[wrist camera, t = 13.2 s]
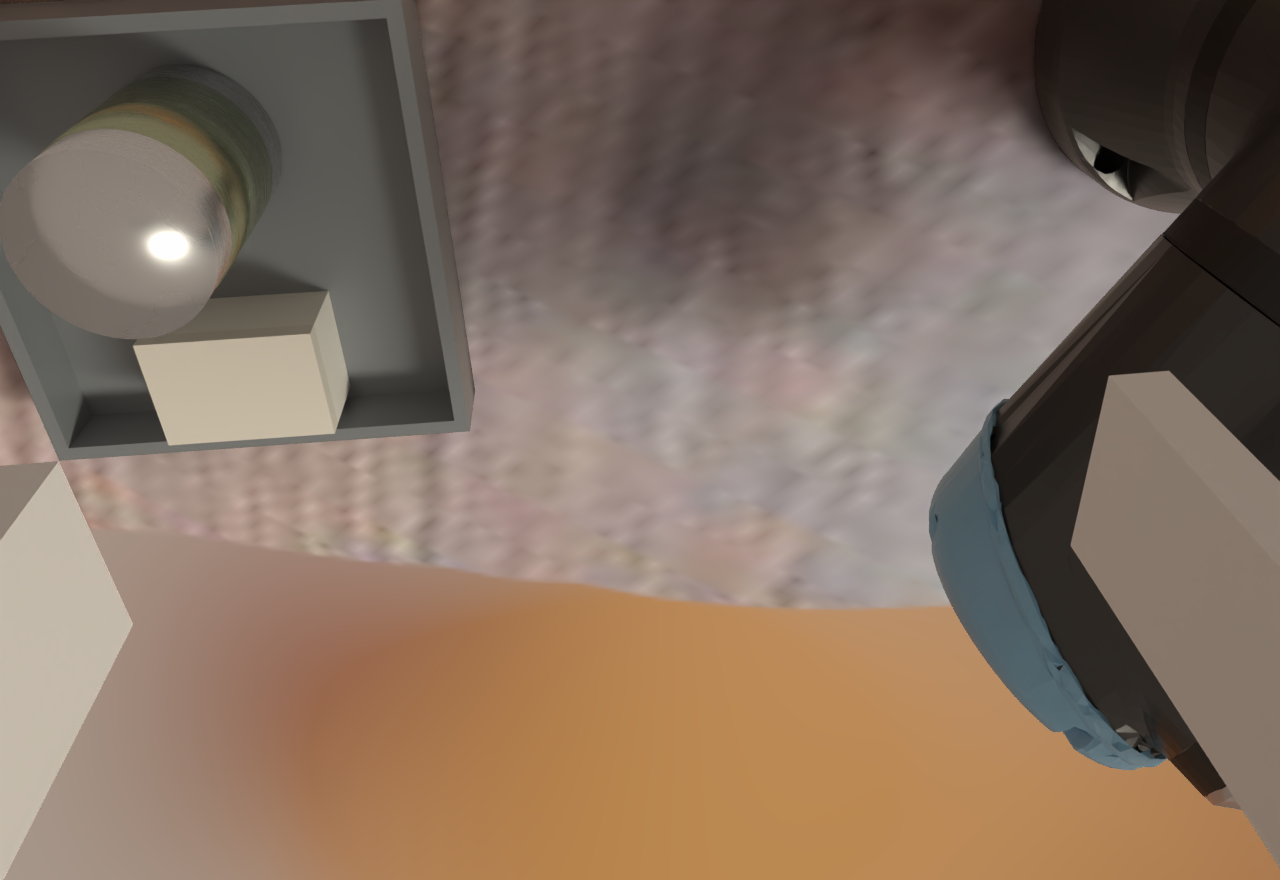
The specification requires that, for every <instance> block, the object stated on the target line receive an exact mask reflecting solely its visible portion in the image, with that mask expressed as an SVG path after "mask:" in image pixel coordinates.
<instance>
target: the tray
mask: <svg viewBox="0 0 1280 880" xmlns="http://www.w3.org/2000/svg"><path fill="white" fill-rule="evenodd" d="M171 64H190V65H196V66H201V67H205V68H208V69H212V70H214V71H217V72H219V73H222V74H224V75H225V76H227V77H229V78H231V79H233V80H234V81H236V82H237V83H239V84H240V85H241V86H243V87H244V88H245V89H246V90H248V91H249V92H250V93H251V94H252V95H253V96H254V97H255V98H256V99H257V100H258V101H259V102H260V104H261V105H262V106H263V108H264V109H265V110H266V112H267V113H268V115H269V116H270V118H271V120H272V122H273V124H274V126H275V128H276V131H277V133H278V136H279V139H280V143H281V149H282V163H283V164H282V172H281V177H280V180H279V184H278V186H277V188H276V190H275V192H274V194H273V196H272V197H271V199H270V200H269V203H268V205H267V207H266V209H265V211H264V213H263V214H262V216H261V218H260V219H259V221H258V223H257V224H256V226H255V228H254V229H253V231H252V232H251V234H250V236H249V237H248V239H247V241H246V242H245V244H244V246H243V247H242V249H241V250H240V252H239V254H238V255H237V257H236V259H235V260H234V262H233V264H232V265H231V267H230V268H229V270H228V272H227V273H226V275H225V277H224V278H223V280H222V281H221V283H220V284H219V285H218V286H217V288H216V289H215V290H214V292H213V293H212V295H211V296H210V298H209V299H211V298H226V297H241V296H256V295H271V294H286V293H301V292H316V291H329V296H330V300H331V304H332V309H333V313H334V317H335V321H336V326H337V330H338V334H339V339H340V343H341V347H342V352H343V356H344V360H345V365H346V369H347V373H348V378H349V382H350V389H349V392H348V395H347V398H346V401H345V404H344V407H343V410H342V413H341V416H340V419H339V422H338V425H337V428H336V431H335V434H322V435H308V436H294V437H280V438H266V439H252V440H238V441H224V442H210V443H196V444H182V445H168V442H167V439H166V437H165V434H164V431H163V428H162V426H161V423H160V420H159V417H158V415H157V412H156V409H155V406H154V403H153V401H152V398H151V395H150V392H149V390H148V387H147V384H146V381H145V378H144V376H143V373H142V370H141V367H140V365H139V362H138V359H137V356H136V354H135V351H134V348H133V345H134V343H135V342H136V341H137V339H120V338H112V337H108V336H103V335H99V334H96V333H93V332H89V331H86V330H84V329H82V328H79V327H77V326H75V325H73V324H71V323H69V322H67V321H65V320H64V319H62V318H60V317H59V316H57V315H56V314H54V313H53V312H51V311H50V310H48V309H47V308H46V307H45V306H43V305H42V304H41V303H40V302H39V301H37V300H36V299H35V298H34V297H33V296H32V295H31V293H30V292H29V291H28V290H27V289H26V288H25V287H24V286H23V284H22V283H21V282H20V280H19V279H18V278H17V276H16V275H15V273H14V271H13V270H12V268H11V266H10V264H9V262H8V260H7V258H6V256H5V253H4V250H3V247H2V244H1V240H0V326H1V328H2V331H3V333H4V335H5V337H6V340H7V342H8V344H9V347H10V349H11V351H12V353H13V356H14V358H15V360H16V363H17V365H18V367H19V369H20V372H21V374H22V376H23V379H24V381H25V383H26V385H27V388H28V390H29V392H30V395H31V397H32V399H33V401H34V404H35V406H36V408H37V411H38V413H39V415H40V417H41V420H42V422H43V424H44V427H45V429H46V431H47V433H48V436H49V438H50V440H51V443H52V445H53V447H54V449H55V452H56V454H57V456H58V459H59V461H61V460H75V459H89V458H103V457H117V456H131V455H145V454H158V453H172V452H186V451H200V450H214V449H228V448H242V447H256V446H270V445H284V444H298V443H312V442H326V441H340V440H354V439H368V438H382V437H396V436H410V435H424V434H437V433H451V432H465V431H470V426H471V418H472V410H473V402H474V394H475V388H474V381H473V375H472V368H471V362H470V355H469V349H468V342H467V336H466V329H465V322H464V316H463V309H462V303H461V296H460V290H459V283H458V277H457V270H456V263H455V257H454V250H453V244H452V237H451V231H450V224H449V218H448V211H447V204H446V198H445V191H444V185H443V178H442V172H441V165H440V159H439V152H438V145H437V139H436V132H435V126H434V119H433V113H432V106H431V100H430V93H429V86H428V80H427V73H426V67H425V60H424V54H423V47H422V41H421V34H420V27H419V21H418V14H417V8H416V1H415V0H62V1H44V2H27V3H9V4H0V203H1V200H2V197H3V194H4V192H5V190H6V188H7V186H8V184H9V183H10V182H11V180H12V179H13V178H14V176H15V175H16V174H17V173H18V172H19V171H20V170H21V169H23V168H24V167H25V166H26V165H27V164H28V163H30V162H31V161H32V160H33V159H35V158H36V157H37V156H39V154H40V153H41V152H42V151H43V150H44V149H45V148H46V147H47V146H48V145H50V144H51V143H52V142H53V141H54V140H56V139H57V138H58V137H59V136H61V135H62V134H63V133H64V132H66V131H67V130H68V129H70V128H71V127H72V126H73V125H75V124H76V123H77V122H78V121H80V120H81V119H82V118H83V117H85V116H86V115H87V114H88V113H90V112H91V111H92V110H94V109H95V108H96V107H97V106H99V105H100V104H101V103H102V102H104V101H105V100H106V99H107V98H109V97H110V96H111V95H112V94H114V93H115V92H116V91H118V90H119V89H121V88H122V87H124V86H126V85H128V84H129V83H130V82H131V81H133V80H134V79H135V78H136V77H138V76H139V75H141V74H143V73H144V72H146V71H149V70H151V69H153V68H156V67H160V66H164V65H171Z"/></svg>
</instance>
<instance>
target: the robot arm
mask: <svg viewBox="0 0 1280 880" xmlns="http://www.w3.org/2000/svg"><path fill="white" fill-rule="evenodd" d="M1035 80H1036V88H1037V94H1038V99H1039V103H1040V106H1041V110H1042V113H1043V116H1044V119H1045V121H1046V123H1047V126H1048V128H1049V130H1050V132H1051V134H1052V136H1053V137H1054V139H1055V141H1056V142H1057V144H1058V145H1059V147H1060V148H1061V150H1062V151H1063V152H1064V153H1065V155H1066V156H1067V157H1068V158H1069V159H1070V160H1071V161H1072V162H1073V163H1074V164H1075V165H1076V166H1077V167H1078V168H1079V169H1081V170H1082V171H1083V172H1085V173H1086V174H1087V175H1088V176H1090V177H1091V178H1092V179H1094V180H1095V181H1096V182H1097V183H1099V184H1100V185H1101V186H1103V187H1104V188H1105V189H1107V190H1108V191H1110V192H1112V193H1113V194H1115V195H1117V196H1119V197H1121V198H1123V199H1124V200H1127V201H1129V202H1132V203H1134V204H1137V205H1139V206H1142V207H1146V208H1149V209H1153V210H1157V211H1162V212H1169V213H1177V214H1180V215H1179V217H1178V218H1177V219H1176V220H1175V221H1174V222H1173V223H1172V224H1171V225H1170V226H1169V228H1168V229H1167V230H1166V231H1165V232H1163V235H1160V236H1159V237H1158V238H1157V239H1156V240H1155V241H1154V242H1153V243H1152V245H1151V246H1150V247H1149V248H1148V249H1147V250H1146V251H1145V252H1144V253H1143V254H1142V255H1141V257H1140V258H1139V259H1138V260H1137V261H1136V262H1135V263H1134V264H1133V265H1132V266H1131V267H1130V269H1129V270H1128V271H1127V272H1126V273H1125V274H1124V275H1123V276H1122V277H1121V278H1120V279H1119V281H1118V282H1117V283H1116V284H1115V285H1114V286H1113V287H1112V288H1111V289H1110V290H1109V291H1108V292H1107V294H1106V295H1105V296H1104V297H1103V298H1102V299H1101V300H1100V301H1099V302H1098V303H1097V304H1096V306H1095V307H1094V308H1093V309H1092V310H1091V311H1090V312H1089V313H1088V314H1087V315H1086V316H1085V318H1084V319H1083V320H1082V321H1081V322H1080V323H1079V324H1078V325H1077V326H1076V327H1075V328H1074V329H1073V331H1072V332H1071V333H1070V334H1069V335H1068V336H1067V337H1066V338H1065V339H1064V340H1063V341H1062V343H1061V344H1060V345H1059V346H1058V347H1057V348H1056V349H1055V350H1054V351H1053V352H1052V353H1051V355H1050V356H1049V357H1048V358H1047V359H1046V360H1045V361H1044V362H1043V363H1042V364H1041V365H1040V367H1039V368H1038V369H1037V370H1036V371H1035V372H1034V373H1033V374H1032V375H1031V376H1030V377H1029V378H1028V380H1027V381H1026V382H1025V383H1024V384H1023V385H1022V386H1021V387H1020V388H1019V389H1018V390H1017V391H1016V393H1015V394H1014V395H1013V396H1012V397H1011V398H1010V399H1003V400H1002V401H1001V402H1000V403H998V404H997V405H996V406H995V407H994V408H993V409H992V411H991V412H990V413H989V414H988V416H987V418H986V420H985V422H984V425H983V428H982V430H981V431H980V432H979V434H978V435H977V436H976V437H975V439H974V440H973V441H972V442H971V444H970V445H969V446H968V447H967V449H966V450H965V451H964V452H963V453H962V455H961V456H960V457H959V458H958V460H957V461H956V462H955V463H954V465H953V466H952V467H951V468H950V469H949V471H948V472H947V473H946V474H945V475H944V476H943V478H942V479H941V481H940V483H939V484H938V486H937V488H936V490H935V492H934V495H933V498H932V501H931V505H930V510H929V533H930V537H931V541H932V554H933V559H934V563H935V566H936V570H937V573H938V575H939V578H940V580H941V583H942V585H943V588H944V590H945V593H946V595H947V597H948V599H949V601H950V603H951V605H952V607H953V609H954V611H955V613H956V614H957V616H958V618H959V620H960V622H961V623H962V625H963V627H964V628H965V630H966V631H967V633H968V635H969V636H970V638H971V639H972V641H973V643H974V644H975V645H976V647H977V648H978V650H979V651H980V653H981V654H982V656H983V657H984V658H985V660H986V661H987V663H988V664H989V665H990V667H991V668H992V669H993V670H994V672H995V673H996V674H997V675H998V677H999V678H1000V679H1001V681H1002V682H1003V683H1004V684H1005V686H1006V687H1007V688H1008V689H1009V690H1010V691H1011V693H1012V694H1013V695H1014V696H1015V697H1016V698H1017V699H1018V700H1019V701H1020V703H1021V704H1022V705H1023V706H1024V707H1025V708H1026V709H1027V710H1029V712H1031V714H1032V715H1034V716H1035V717H1036V718H1037V719H1038V720H1039V721H1040V722H1041V723H1042V724H1043V725H1045V726H1046V727H1047V728H1048V729H1049V730H1051V731H1053V732H1061V731H1063V733H1064V734H1065V735H1066V737H1067V739H1068V740H1069V742H1070V744H1071V745H1072V746H1073V748H1074V749H1075V750H1076V751H1078V752H1079V753H1081V754H1083V755H1084V756H1086V757H1087V758H1089V759H1091V760H1094V761H1095V762H1097V763H1099V764H1102V765H1105V766H1107V767H1110V768H1116V769H1122V770H1135V769H1138V768H1141V767H1155V766H1157V765H1159V764H1161V763H1162V762H1164V761H1165V760H1166V759H1168V760H1170V761H1171V762H1172V763H1173V764H1174V766H1175V767H1177V769H1178V770H1179V771H1180V772H1181V773H1182V774H1183V775H1184V776H1185V777H1186V778H1187V779H1188V780H1189V781H1190V782H1191V783H1192V785H1193V786H1194V787H1195V788H1196V789H1197V790H1198V791H1199V792H1200V793H1201V794H1202V795H1203V796H1204V797H1205V798H1206V799H1208V801H1210V802H1211V803H1212V804H1213V805H1216V806H1222V807H1228V808H1235V809H1240V810H1242V811H1243V812H1244V814H1245V815H1246V817H1247V818H1248V820H1249V821H1250V823H1251V824H1252V826H1253V827H1254V829H1255V831H1256V832H1257V834H1258V835H1259V837H1260V838H1261V840H1262V841H1263V843H1264V845H1265V846H1266V848H1267V849H1268V851H1269V852H1270V854H1271V855H1272V857H1273V858H1274V860H1275V861H1276V863H1277V865H1278V866H1279V868H1280V0H1044V1H1043V5H1042V8H1041V12H1040V17H1039V22H1038V27H1037V34H1036V42H1035ZM132 626H133V624H132V621H131V619H130V617H129V615H128V613H127V610H126V608H125V606H124V604H123V602H122V599H121V597H120V595H119V593H118V591H117V588H116V586H115V584H114V582H113V580H112V577H111V575H110V573H109V571H108V569H107V567H106V564H105V562H104V560H103V558H102V556H101V553H100V551H99V549H98V547H97V545H96V543H95V540H94V538H93V536H92V534H91V531H90V529H89V527H88V525H87V523H86V520H85V518H84V516H83V514H82V512H81V509H80V507H79V505H78V503H77V501H76V498H75V496H74V494H73V492H72V490H71V487H70V485H69V483H68V481H67V479H66V477H65V474H64V472H63V470H62V468H61V466H60V463H59V461H57V462H44V463H32V464H20V465H7V466H0V880H4V878H5V876H6V874H7V872H8V870H9V867H10V866H11V864H12V862H13V859H14V858H15V856H16V854H17V852H18V850H19V848H20V846H21V844H22V842H23V840H24V838H25V836H26V834H27V832H28V830H29V828H30V826H31V824H32V822H33V820H34V819H35V817H36V815H37V813H38V811H39V808H40V806H41V805H42V803H43V801H44V799H45V797H46V795H47V793H48V791H49V789H50V787H51V785H52V783H53V781H54V779H55V777H56V775H57V773H58V771H59V769H60V767H61V765H62V763H63V761H64V759H65V757H66V755H67V754H68V751H69V750H70V748H71V745H72V744H73V741H74V740H75V738H76V736H77V734H78V732H79V730H80V728H81V726H82V724H83V722H84V720H85V718H86V716H87V714H88V712H89V710H90V708H91V706H92V704H93V702H94V700H95V698H96V696H97V695H98V693H99V691H100V689H101V686H102V685H103V682H104V681H105V679H106V677H107V675H108V673H109V671H110V669H111V667H112V665H113V663H114V661H115V659H116V657H117V655H118V653H119V651H120V649H121V647H122V645H123V643H124V641H125V639H126V637H127V635H128V633H129V631H130V630H131V627H132Z"/></svg>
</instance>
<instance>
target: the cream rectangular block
mask: <svg viewBox="0 0 1280 880" xmlns="http://www.w3.org/2000/svg"><path fill="white" fill-rule="evenodd" d="M133 348H134V351H135V354H136V356H137V359H138V362H139V365H140V367H141V370H142V373H143V376H144V378H145V381H146V384H147V387H148V390H149V392H150V395H151V398H152V401H153V403H154V406H155V409H156V412H157V415H158V417H159V420H160V423H161V426H162V428H163V431H164V434H165V437H166V439H167V442H168V445H182V444H196V443H210V442H224V441H238V440H252V439H266V438H280V437H294V436H308V435H322V434H335V431H336V428H337V425H338V422H339V419H340V416H341V413H342V410H343V407H344V404H345V401H346V398H347V395H348V392H349V389H350V382H349V378H348V373H347V369H346V365H345V360H344V356H343V352H342V347H341V343H340V339H339V334H338V330H337V326H336V321H335V317H334V313H333V309H332V304H331V300H330V296H329V291H316V292H301V293H286V294H271V295H256V296H241V297H226V298H211V299H209V300H208V301H207V303H206V304H205V306H204V307H203V309H202V310H201V311H200V312H199V313H198V315H197V316H196V317H195V318H194V319H192V320H191V321H190V322H189V323H187V324H186V325H184V326H183V327H181V328H179V329H177V330H176V331H173V332H170V333H168V334H165V335H162V336H158V337H153V338H146V339H137V341H136V342H135V343H134V345H133Z"/></svg>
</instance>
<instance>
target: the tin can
mask: <svg viewBox="0 0 1280 880" xmlns="http://www.w3.org/2000/svg"><path fill="white" fill-rule="evenodd" d="M282 164H283V163H282V149H281V143H280V139H279V136H278V133H277V131H276V128H275V126H274V124H273V122H272V120H271V118H270V116H269V115H268V113H267V112H266V110H265V109H264V108H263V106H262V105H261V104H260V102H259V101H258V100H257V99H256V98H255V97H254V96H253V95H252V94H251V93H250V92H249V91H248V90H246V89H245V88H244V87H243V86H241V85H240V84H239V83H237V82H236V81H234V80H233V79H231V78H229V77H227V76H225V75H224V74H222V73H219V72H217V71H214V70H212V69H208V68H205V67H201V66H196V65H190V64H171V65H164V66H160V67H156V68H153V69H151V70H149V71H146V72H144V73H143V74H141V75H139V76H138V77H136V78H135V79H134V80H133V81H131V82H130V83H129V84H128V85H126V86H124V87H122V88H121V89H119V90H118V91H116V92H115V93H114V94H112V95H111V96H110V97H109V98H107V99H106V100H105V101H104V102H102V103H101V104H100V105H99V106H97V107H96V108H95V109H94V110H92V111H91V112H90V113H88V114H87V115H86V116H85V117H83V118H82V119H81V120H80V121H78V122H77V123H76V124H75V125H73V126H72V127H71V128H70V129H68V130H67V131H66V132H64V133H63V134H62V135H61V136H59V137H58V138H57V139H56V140H54V141H53V142H52V143H51V144H50V145H48V146H47V147H46V148H45V149H44V150H43V151H42V152H41V153H40V154H39V156H37V157H36V158H35V159H33V160H32V161H31V162H30V163H28V164H27V165H26V166H25V167H24V168H23V169H21V170H20V171H19V172H18V173H17V174H16V175H15V176H14V178H13V179H12V180H11V182H10V183H9V184H8V186H7V188H6V190H5V192H4V194H3V197H2V200H1V203H0V240H1V244H2V247H3V250H4V253H5V256H6V258H7V260H8V262H9V264H10V266H11V268H12V270H13V271H14V273H15V275H16V276H17V278H18V279H19V280H20V282H21V283H22V284H23V286H24V287H25V288H26V289H27V290H28V291H29V292H30V293H31V295H32V296H33V297H34V298H35V299H36V300H37V301H39V302H40V303H41V304H42V305H43V306H45V307H46V308H47V309H48V310H50V311H51V312H53V313H54V314H56V315H57V316H59V317H60V318H62V319H64V320H65V321H67V322H69V323H71V324H73V325H75V326H77V327H79V328H82V329H84V330H86V331H89V332H93V333H96V334H99V335H103V336H108V337H112V338H120V339H146V338H153V337H158V336H162V335H165V334H168V333H170V332H173V331H176V330H177V329H179V328H181V327H183V326H184V325H186V324H187V323H189V322H190V321H191V320H192V319H194V318H195V317H196V316H197V315H198V313H199V312H200V311H201V310H202V309H203V307H204V306H205V304H206V303H207V301H208V300H209V298H210V296H211V295H212V293H213V292H214V290H215V289H216V288H217V286H218V285H219V284H220V283H221V281H222V280H223V278H224V277H225V275H226V273H227V272H228V270H229V268H230V267H231V265H232V264H233V262H234V260H235V259H236V257H237V255H238V254H239V252H240V250H241V249H242V247H243V246H244V244H245V242H246V241H247V239H248V237H249V236H250V234H251V232H252V231H253V229H254V228H255V226H256V224H257V223H258V221H259V219H260V218H261V216H262V214H263V213H264V211H265V209H266V207H267V205H268V203H269V200H270V199H271V197H272V196H273V194H274V192H275V190H276V188H277V186H278V184H279V180H280V177H281V172H282Z"/></svg>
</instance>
